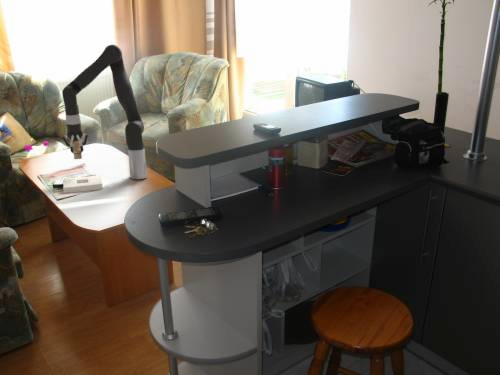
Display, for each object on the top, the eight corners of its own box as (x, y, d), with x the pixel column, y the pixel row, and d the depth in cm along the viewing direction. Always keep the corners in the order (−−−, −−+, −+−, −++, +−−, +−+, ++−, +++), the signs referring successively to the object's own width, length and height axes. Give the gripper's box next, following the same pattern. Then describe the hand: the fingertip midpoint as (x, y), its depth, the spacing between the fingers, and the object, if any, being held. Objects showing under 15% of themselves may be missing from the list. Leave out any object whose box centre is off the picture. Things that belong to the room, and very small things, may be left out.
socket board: (100, 180, 285) (100, 175, 284) (102, 189, 271) (102, 183, 270) (64, 183, 279) (63, 178, 278) (64, 193, 265) (63, 187, 264)
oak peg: (81, 156, 282) (79, 139, 278) (81, 158, 278) (79, 141, 275) (74, 157, 281) (72, 140, 277) (74, 159, 277) (72, 142, 274)
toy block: (30, 158, 330) (28, 147, 327) (26, 156, 334) (24, 145, 331) (52, 153, 340) (50, 143, 337) (47, 151, 344) (46, 141, 341)
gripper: (87, 120, 278) (90, 149, 284) (60, 122, 274) (64, 152, 279) (87, 122, 271) (90, 153, 277) (59, 124, 267) (63, 155, 273)
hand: (77, 152), depth 278 cm, fingers closed on oak peg, 4 cm apart
